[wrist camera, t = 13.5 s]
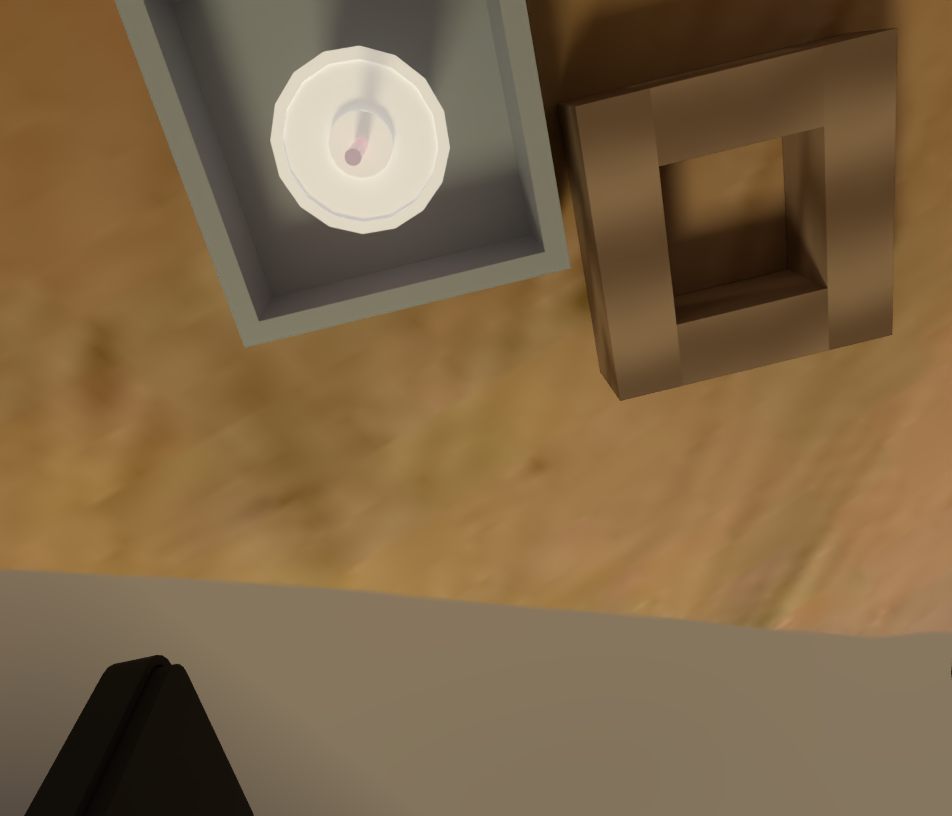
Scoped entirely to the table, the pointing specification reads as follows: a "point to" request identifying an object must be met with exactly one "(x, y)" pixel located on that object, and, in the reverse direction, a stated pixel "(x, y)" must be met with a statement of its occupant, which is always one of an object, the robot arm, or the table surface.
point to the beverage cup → (360, 139)
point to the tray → (275, 209)
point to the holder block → (806, 205)
